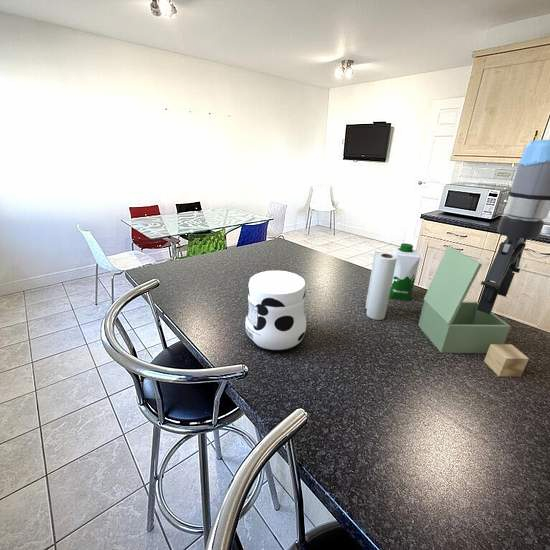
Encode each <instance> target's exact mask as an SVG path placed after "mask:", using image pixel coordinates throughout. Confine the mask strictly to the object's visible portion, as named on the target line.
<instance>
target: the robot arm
mask: <svg viewBox="0 0 550 550" xmlns="http://www.w3.org/2000/svg"><path fill="white" fill-rule="evenodd" d="M517 165H518V166H517V169H516V172H515V175H514V178H513V182H512V185H511V188H510V192H509V194H508V198H507V199H504V200H503V204H504V209H503V214H504V215H503V216H501V217H500V220H499V222H498V226H497V233H499V234H501V235H504V236H506V238H505V239H504V240H503V241H502V242H501V243H500V244H499V245H498V250H497V252H496V254H495V257H494V259H493V261H492V264H491V266H490V268H489V270H488V272H487V275H486V276H485V279H484V280H481V282H480V285H481V286H483V289H482V293H481V295H480V298H479V301H478V302H479V304H478V307H477V310H479V311H482V312H485V313H487V314H490V313H491V312H492V311H493V308H494V306H495V302H496V300H497V297H498V296H501V297H503V298H504V297H505V298H506V297H507V295H508V293H509V290H510V287H511V285H512V282H513V279H514V277H515V275H516V274H519V273H520V272H521V268H520V263H521V261H522V256H523V252H524V250H525V248H526V246H527V244H526V243H527V240H533V239H538V238H539V237H540V236H541V233H542V231H543V228H544V225H545V222H544V220H545V219H547V218H548V216H549V213H550V139H534V140H532V141H529V142H528V143H527V144H526V146H525V148H524V151H523V152H522V155H521V157H520V160H519V162H518V164H517Z"/></svg>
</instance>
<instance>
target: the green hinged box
mask: <svg viewBox="0 0 550 550" xmlns="http://www.w3.org/2000/svg"><path fill="white" fill-rule="evenodd" d="M478 304H479V301H463V302H462V304H461V306H460V308H459V310H458V312H457V314H456V316H455V318H454V320H453V322H452V323H451V324H448V323H447V322H446V321H445V320H444V319H443V318H442V317H441V316H440V315H439V314H438V313H437V312H436V311H435V310H434V309H433V308H432V307H431V306H430V305H429V304H428V303H427V302H426V301H425V300H423V304H422V308H421V313H420V316H419V319H418V323H417V324H418V327H419V329H421V331H422V332H423V333H424V334H425V335H426V337H427V338H428V339H429V340H430V342H431V343H432V344H433V346H434V347H435V348H436V349H437V350H438V351H439V352H440V353H441V354H487V352H488V349H489V347H490V344H505V342H506V340H507V337H508V335H509V333H510V330H511V328H512V326H511V325H509V324H508V323H507V322H506V321H504V320H503V319H501V318H500V317H499V316H498V315H496V314H495V313H493V312H492V311H491V313H490V314H487V313H485V312H482V311H479V310H477V307H478Z"/></svg>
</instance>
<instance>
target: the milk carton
mask: <svg viewBox="0 0 550 550" xmlns="http://www.w3.org/2000/svg"><path fill="white" fill-rule="evenodd" d="M392 254H393V255H395V256H396V257H397V261H396V266H395V270H394V275H393V280H392V285H391V290H390V295H389V299H392V300H400V301H410V300H411V296H412V293H413V290H414V286H415V281H416V277H417V273H418V269H419V264H420V261H421V255H420V254H419V252H418V250H417V249H414V245H413V244H411V243H403V242H402V243H400V247H398V248H397V247H394V248H393V253H392Z"/></svg>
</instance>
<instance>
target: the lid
mask: <svg viewBox="0 0 550 550" xmlns="http://www.w3.org/2000/svg"><path fill="white" fill-rule="evenodd" d="M482 266H483V263H481V262H479V261H478V260H476V259H474V258H472V257H471V256H468V255H466V254H465V253H463V252H461V251H460V250H458V249H456V248H454V247H452V246H450V245H447V247H446V248H445V251H444V253H443V256H442V258H441V259H440V263H439V264H438V266H437V269H436V271H435V274H434V276H433V277H432V280H431V282H430V284H429V286H428V289H427V291H426V293H425V295H424V298H423V301H426V302H427V303H428V304H429V305H430V306H431V307H432V308H433V309H434V310H435V311H436V312H437V313H438V314H439V315H440V316H441V317H442V318H443V319H444V320H445V321H446V322H447V323H448V324H451V323H452V322H453V320H454V318H455V316H456V314H457V312H458V310H459V308H460V306H461V304H462V302H464V300H465V298H466V296H467V295H468V293H469V291H470V289H471V287H472V285H473V283H474V281H475V279H476V277H477V275H478V274H479V271H480V270H481V268H482Z"/></svg>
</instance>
